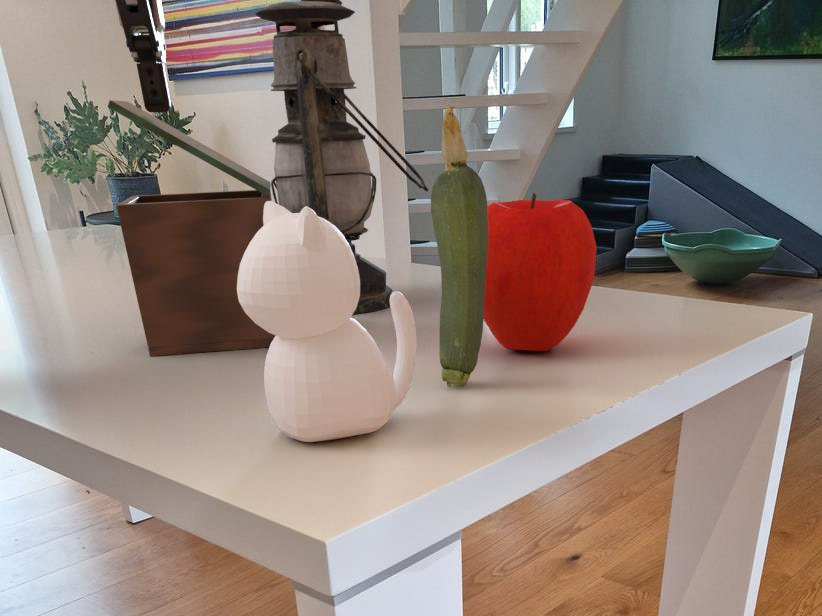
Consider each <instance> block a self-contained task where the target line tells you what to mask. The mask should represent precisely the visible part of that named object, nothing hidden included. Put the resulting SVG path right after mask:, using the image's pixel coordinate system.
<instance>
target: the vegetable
mask: <svg viewBox="0 0 822 616" xmlns="http://www.w3.org/2000/svg"><path fill="white" fill-rule="evenodd" d="M454 109H455V106H454V105H450V106H449V107H448V108H446V110H445V111H444V114H443V117H442V125H441V126H442V127H441V128H442V129H441V133H442V140H441V154H442V158H443V160H444V163H445V166H446V167H445V168H444V169H443V170H442V171H441V172H439V175H438V176H437V177H436V178H435V181H434V183H433V185H432V187H431V188H432V189H431V194H430V212H431V213H430V214H431V219H432V227H433V232H434V236H435V241H436V245H437V253H438V257H439V264H440V275H441V301H440V302H441V303H440V312H439V363H440V366H441V368H442V370H441V379H442V382H445V383H446V386H447V387H450V386H452V385H454V386H460V387H463V386H465V385H466V384H467V383H468V382H469V379H470V377H471V374H472V372H474V370H475V369H476V367H477V364H478V358H479V352H480V349H481V343H482V338H483V331H484V298H485V281H486V265H487V256H488V243H489V239H488V197H487V193H486V188H485V186H484V183H483V181H482V178H481V176H480V175H479V174H478V173H477V172H476V171H475V170H474V169H473V168H472V167H470V166H469V165H468V164H467V159H468V152H467V148H466V145H465V140H464V138H463V134H462V130H461V123H460V120H459V119H458V118H457V115H456V114H455V113H454Z"/></svg>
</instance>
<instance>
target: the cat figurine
mask: <svg viewBox="0 0 822 616" xmlns="http://www.w3.org/2000/svg"><path fill="white" fill-rule="evenodd" d="M278 204H279V203H278ZM278 204H276V203H275V201H273V200H272V201H266V203H265V204H264V210H263V224H264V226H263V227H262V228H261V229H260V230H259V231H258V232H257V233H256V234H255V236H254V237H253V239H252V240H251V242H250V243H249V245H248V247H247V249H246V251H245V253H244V255H243V258H242V260H241V263H240V267H239V272H238V278H237V294H238V300H239V303H240V304H241V306H242V308H243V310H244V311H245V313H246V314H247V315H248V316H249V317H250V318H251V319H252V320H253V321H254V323H256V324H257V325H258V326H260V327H261V328H263V329H264V330H266V331H267V332H269V333H271V334H273V335H276V336H275V337H274V339H273V341H272V342H271V344H270V347H268V350H267V352H266V356H265V360H264V361H265V362H264V366H263V367H264V368H263V385H264V386H263V387H264V394H265V402H266V407H267V409H268V412H269V415H270V417H271V419H272V421H273V423H274V425H275V427H276V428H277V429H278V430H280V431H281V432H282V433H283V434H284V435H286V436H287V437H289V438H291V439H294V440H296V441H299V442H305V443H313V442H324V441H325V442H326V441H331V440H338V439H344V438H350V437H355V436H360V435H365V434H370V433H374V432H376V431H378V430H379V429H380V428H382V427H383V426H384V425H385V424H386V423H387V422H388V421H389V420H390V417H391V416H392V413H393V412H394V411H395V410H397V408H398V407H399V406H401V404H402V403H403V401H404V400H405V398H406V396H407V395H408V392H409V390H410V388H411V384H412V381H413V377H414V372H415V367H416V359H417V351H418V350H417V341H418V340H417V327H416V321H415V316H414V313H413V310H412V307H411V305H410V303H409V300H408V299H407V298H406V297H405V295H404V294H403V293H402V292H400V291H398V290H395V291H393V292H392V294H391V295H390V307H389V308H390V312H391V317H392V321H393V325H394V330H395V335H396V337H395V338H396V356H395V365H394V369H393V374H392V373H391V370H390V368H389V365H388V363H387V361H386V359H385V357H384V356H383V354H382V352H381V350H380V348H379V347H378V345H377V343H376V341H375V340H374V338H373V337H372V335H371V334H370V333H369V331H368V330H367V329H366V328H365V327H364V326H363V325H361V324H360V322H359V321H357V320H356V319H355V318H352V316H353V315H354V314H353V313H354V311H355V309H356V307H357V304H358V301H359V297H360V278H359V272H358V267H357V264H356V260H355V257H354V254H353V252H352V250H351V248H350V245H349V244H348V242H347V240H346V239H345V237H344V236H343V234H342V233H341V232H340V231H339V230H338V229H337V228H336V227H335V226H334V225H333V224H331V223H330V222H328V221H327V220H326V219H324V218H321V217H318V216H317V215H316V213H315V212H314V211H313V210H312V209H311V208H309V207H307V206H306V207H304V208H303V209H302V210H301V212H300V213H291V212H290V211H288V210H287V209H286V208H284V207H283V206H280V205H278Z"/></svg>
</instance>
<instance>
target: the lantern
mask: <svg viewBox="0 0 822 616" xmlns="http://www.w3.org/2000/svg"><path fill="white" fill-rule="evenodd" d="M355 13H356V11H354V10H352V9H350V8H348V7H346V6H344V5H343V1H341V0H300V1H284V2H276V3H271V4H269V5H268V6H265V7H264V8H262V9H259V10H258V11H257V12H256V13H254V15H255V16H257V17H258V18H259V19H261V20H264V21H268V22H272V23H275V30H276V34H274V35H273V39H272V42H271V43H272V57H273V58H272V60H273V81H272V82H271V84H270V87H272V88H271V89H270V91H271V92H283V94H284V97H283V98H284V106H285V112H286V118H287V119H286V120H287V124H286V125H284V126H282V127H281V128H280V129H277V135H276V136H274V137H273V138H271V140H272V141H271V142H272V143H275V147H274V161H273V162H274V164H273V171H274V178H273V179H272V180H271V181H270V182H271V184H270V188H271V191H272V196H273V199H274V203H276V204H278V205H280V206H283V207H284V208H286V209H287V210H288V211H290V212H291V213H300V212H301V210H302V209H303V208H304V207H306V206H307V207H309V208H311V209H312V210H313V211H314V212H315V213H316V215H317V216H318V217H321V218H324V219H326V220H327V221H328V222H330V223H331V224H333V225H334V226H335V227H336V228H337V229H338V230H339V231H340V232H341V233H342V234H343V236H344V237H345V239H346V240H347V242H348V244H349V245H350V248H351V250H352V252H353V254H354V257H355V260H356V264H357V267H358V272H359V278H360V297H359V301H358V304H357V307H356V309H355V311H354V313H353V314H352V315H359V314H366V313H372V312H377V311H381V310H385V309H388V308H390V295H391V294H392V292H394V291H393V289H392V288H391V287H389V285H387V272H386V271H385V270H384V269H382V268H381V267H379V266H377V265H376V264H374V263H372V262H371V261H370V260H368V259H366V258H365V257H362V256H361V254H359V253H357V251H356V245H355V244H354V243H353V241H357V240H360V238H361V236H362V235H363V234H365V233H368V232H369V228H366V227H365V222H367V220H369V218H370V217H371V215H372V210H373V207H374V203H375V197H376V193H377V177H376V175H374V173H373V172H372V171H371V164H370V161H369V157H368V153H367V150H366V146H365V143H364V140H366V138H367V137H366V135H367V136H368V137H369V138H370V139H371V140H372V141H373V142H374V143H375V144H376V145H377V146H378V147H379V148H380V150H382V152H383V153H384V154H385V155H386V156H387V157H388V158H389V159H390V160H391V161H392V163H393V164H395V166H396V167H397V168H398V169H399V170H400V171H401V173H403V174H404V175H405V176H406V177H407V179H409V180H410V181H411V182H412V183H414V184H415V185H416V186H417V187H418V188H419V189H423V191H425V192H428V191H429V188H428V187H427V185H426V184H425V181H424V179H423V178H422V176H421V175H420V173H419V172H418V171H417V170H416V169H415V168H414V167H413V166H412V165H411V163H409V161H408V160H407V159H406V158H405V157H404V156H403V155H402V154H401V153H400V151H398V149H396V147H395V146H393V144H392V143H391V142H390V141H389V140H388V139H387V138H386V136H384V135H383V134H382V133H381V131H380V130H379V129H378V128H377V127H376V126H375V125H374V124H373V122H371V121H370V119H368V118H367V116H366V115H364V113H363V112H362V111H361V110H360V109H359V108H358V107H357V105H356V104H355V103H354V102H353V100H351V99H350V98H349V97H348V95H347V94H346V93H345V90H353V89H355V90H356V89H357V86H355V84H356V82H355V80H354V79H352V76H351V72H350V66H349V59H348V58H349V57H348V52H347V46H346V40H345V38H344V37H343V36H344V35H343V33H340V30H339V22H338V21H342V20H345V19H350V18H351V17H352V16H353V15H354V14H355ZM332 25H334V30H332V29H331V30H330V29H321V28H320V27H325V26H332ZM281 27H294V29H291V30H284V31H281ZM319 28H320V29H319ZM346 102H347V103H348V104H349V105H350V106H351V107H352V108H353V109H354V111H355V112H356V113H357V114H358V115H359V116H360V118H362V119H363V121H365V122H366V123H367V125H368V126H369V127H370V128H371V129H372V130H373V131H374V132H375V133H376V135H378V137H380V139H381V140H382V141H383V142H384V143H385V144H386V145H387V147H389V148H390V150H391V151H393V152H394V153H395V154H396V156H397V157H398V158H399V159H400V160H401V161H402V162H403V164H405V165H406V167H408V168H409V170H410V171H411V172H412V173H413V174H414V175H415V176H416V177H417V179H418V180H419V181H420V182H418V181H417V180H416V179H415V178H414V177H412V176H411V175H410V174H409V173H408V171H407V170H406V168H404V167H403V166H402V165H401V164H400V163H399V161H397V159H396V158H395V157H394V156H393V155H392V154H391V153H390V152H389V151H388V150H387V149H386V147H385V146H384V145H383V144H382V143H381V142H380V141H379V139H377V138H376V136H375V135H374V134H373V133H371V132H370V130H369V129H368V128H367V127H366V126H365V125H364V123H362V122H361V121H360V120H359V118H358V117H357V116H356V115H354V113H353V112H352V111H351V110H350V109H349V108H348V107H347V105H346ZM347 114H348V115H349V116H350V117H351V119H352V120H353V121H355V123H356V124H357V125H358V126H359V127H360V128H361V129H362V130H363V131H364V133H366V135H365V134H363V133H362V132H360V131H359V127H358V126H356V125H354V124H352V123H350V122H348V121H347ZM275 189H276V191H275ZM276 192H277V195H276Z"/></svg>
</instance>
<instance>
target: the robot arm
mask: <svg viewBox="0 0 822 616" xmlns="http://www.w3.org/2000/svg"><path fill="white" fill-rule="evenodd" d="M114 1H115V7H116V11H117V15H118V20H119V24H120V27H121V28H122V30H123V32H124V37H125V44H126V48H128V51H129V53H130V56H131V58H132V59H133V62H134V63H136V69H137V74H138V80H139V84H140V89H141V95H142V100H143V105H144V108H145V110H146V112H147V113H169V112H170V111H171V110H172V101H171V96H170V90H169V85H168V79H167V73H166V68H165V63H166V58H167V56H166V55H167V53H166V51H167V45H166V43H165V37H164V36H165V35H164V31H165V30H166V24H165V23H166V22H165V18H164V12H163V5H162V0H114Z"/></svg>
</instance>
